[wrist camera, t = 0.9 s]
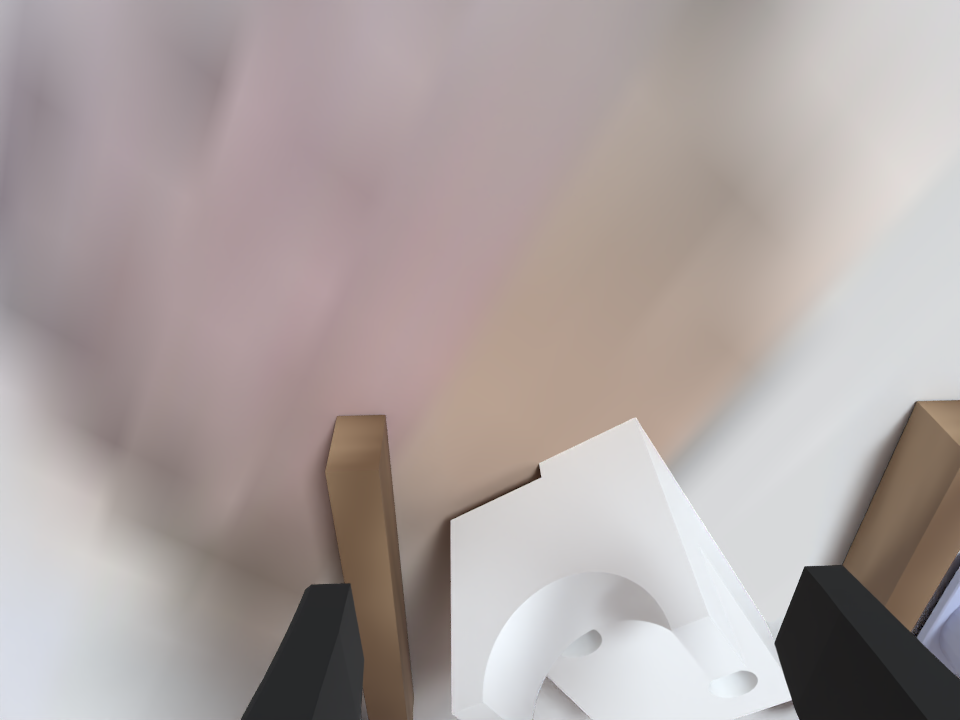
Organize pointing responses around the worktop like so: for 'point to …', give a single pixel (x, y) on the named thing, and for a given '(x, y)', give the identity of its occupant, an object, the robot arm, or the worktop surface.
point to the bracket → (603, 597)
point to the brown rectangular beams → (871, 560)
